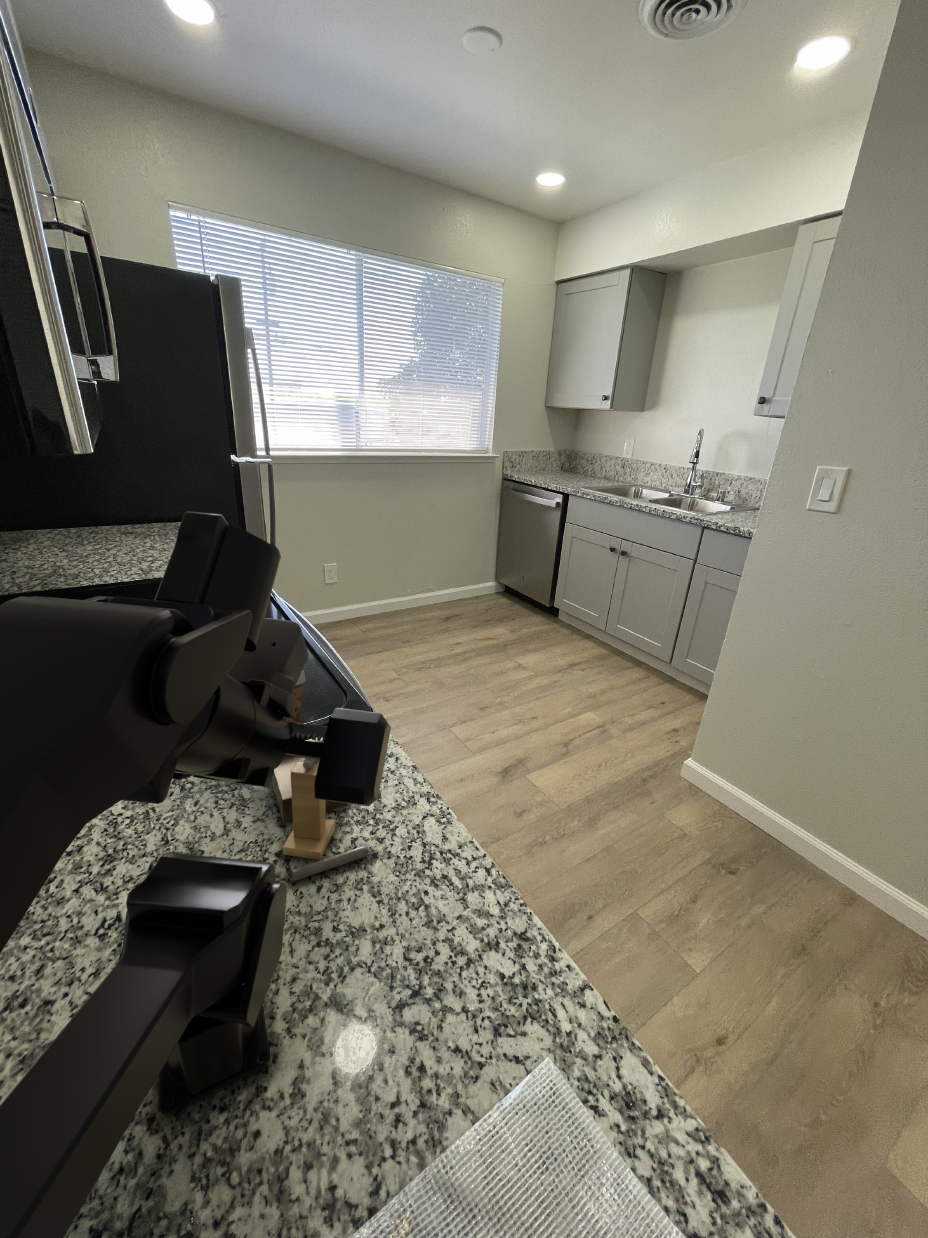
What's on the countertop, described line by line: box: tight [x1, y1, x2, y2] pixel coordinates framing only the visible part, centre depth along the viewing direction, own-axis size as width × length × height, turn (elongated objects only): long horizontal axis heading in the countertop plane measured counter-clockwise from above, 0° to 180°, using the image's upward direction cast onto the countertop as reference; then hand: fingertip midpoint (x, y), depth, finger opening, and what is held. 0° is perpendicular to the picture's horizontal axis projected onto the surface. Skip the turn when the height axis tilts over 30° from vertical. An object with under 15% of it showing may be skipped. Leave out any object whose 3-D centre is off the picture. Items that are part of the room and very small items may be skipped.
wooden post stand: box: [282, 758, 336, 861], centre depth 50 cm, size 5×4×10 cm
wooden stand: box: [271, 738, 368, 882], centre depth 55 cm, size 16×8×4 cm, turn 29°
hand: (290, 760), depth 44 cm, fingers open, 9 cm apart
